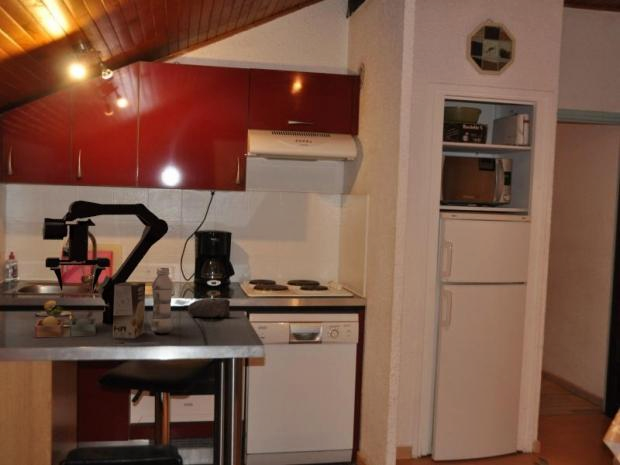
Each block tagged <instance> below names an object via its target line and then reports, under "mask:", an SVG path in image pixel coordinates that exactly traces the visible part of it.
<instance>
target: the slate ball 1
mask: <svg viewBox="0 0 620 465" xmlns="http://www.w3.org/2000/svg"><path fill="white" fill-rule="evenodd" d="M82 318H85V319H88V320H89V321H90V322H91V320H90V317H89V316H88V315H80V316H78V317H77V318H75V319H76V322H77V321H78V320H80V319H82ZM76 322H75V325H76Z"/></svg>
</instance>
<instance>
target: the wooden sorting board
mask: <svg viewBox="0 0 620 465" xmlns="http://www.w3.org/2000/svg"><path fill="white" fill-rule="evenodd" d="M89 318H90V317H89ZM56 319H57V320H58V326H42V322H43V320H44V319H37V321H36V324H35V325H34V338H60V337H63V338H65V337H89V336H90V337H91V336H96V335H97V322H96V321H97V320H96V318H94V317H93V318H92V317H91V318H90V320H91V325H75V322H76V319H77V318H71V319H70V321H69V322H65V319H64V318H56Z"/></svg>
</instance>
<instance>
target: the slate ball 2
mask: <svg viewBox="0 0 620 465" xmlns="http://www.w3.org/2000/svg"><path fill="white" fill-rule="evenodd" d="M76 325H91V322H90V321H89V320H88V319H85V318H82V319H80V320H78V321H77V322H76Z"/></svg>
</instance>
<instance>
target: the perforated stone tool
mask: <svg viewBox="0 0 620 465" xmlns="http://www.w3.org/2000/svg"><path fill="white" fill-rule="evenodd" d="M230 303H231V301H230V300H229V299H228V298H206V299H199V300H195V301H193V302H191V303H190V304H189V305H188V308H187V311H188V313H189V315H191V316H192V317H195V318H204V319H206V318H207V319H208V318H209V319H213V318H217V317H218V318H224V317H226V316H227V315H228V313H229V311H230V307H231V306H230V305H231V304H230Z"/></svg>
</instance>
